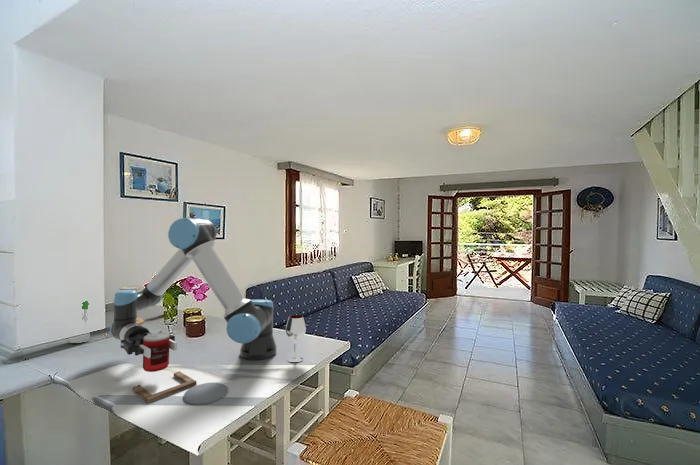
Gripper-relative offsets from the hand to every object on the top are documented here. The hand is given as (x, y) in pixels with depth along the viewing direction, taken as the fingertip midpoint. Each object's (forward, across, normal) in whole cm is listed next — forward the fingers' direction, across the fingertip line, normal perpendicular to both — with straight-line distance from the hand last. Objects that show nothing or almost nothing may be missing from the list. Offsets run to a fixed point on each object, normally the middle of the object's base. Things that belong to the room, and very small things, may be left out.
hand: (162, 349), depth 108 cm
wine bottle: (-72, +4, -13) cm, 73 cm away
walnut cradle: (+2, 0, -12) cm, 12 cm away
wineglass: (+19, -44, -12) cm, 49 cm away
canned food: (-5, 0, -7) cm, 9 cm away
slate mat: (+16, -6, -12) cm, 21 cm away
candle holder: (-86, -21, -13) cm, 89 cm away
